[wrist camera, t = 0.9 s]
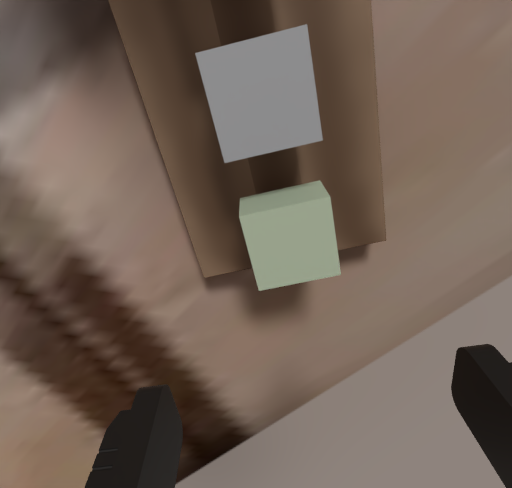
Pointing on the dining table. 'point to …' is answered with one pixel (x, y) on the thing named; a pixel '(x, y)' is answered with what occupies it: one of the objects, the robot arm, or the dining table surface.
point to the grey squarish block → (262, 93)
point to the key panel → (270, 164)
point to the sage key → (290, 235)
